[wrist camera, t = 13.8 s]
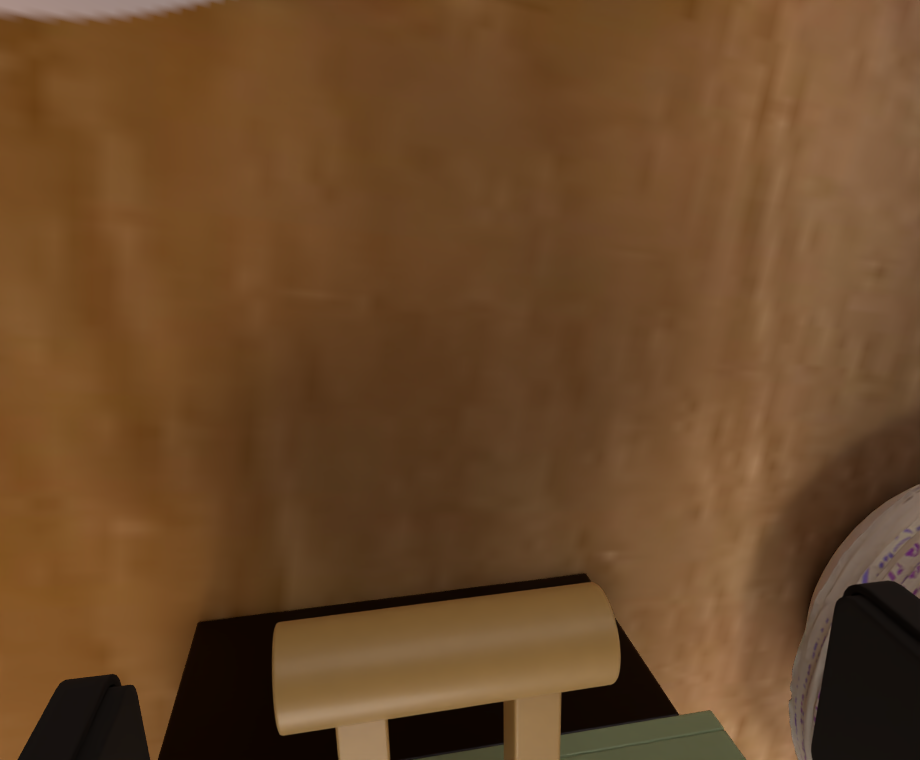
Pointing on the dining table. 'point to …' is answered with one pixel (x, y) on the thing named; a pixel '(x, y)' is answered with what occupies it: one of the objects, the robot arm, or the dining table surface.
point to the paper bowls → (855, 562)
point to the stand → (412, 737)
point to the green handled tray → (473, 677)
